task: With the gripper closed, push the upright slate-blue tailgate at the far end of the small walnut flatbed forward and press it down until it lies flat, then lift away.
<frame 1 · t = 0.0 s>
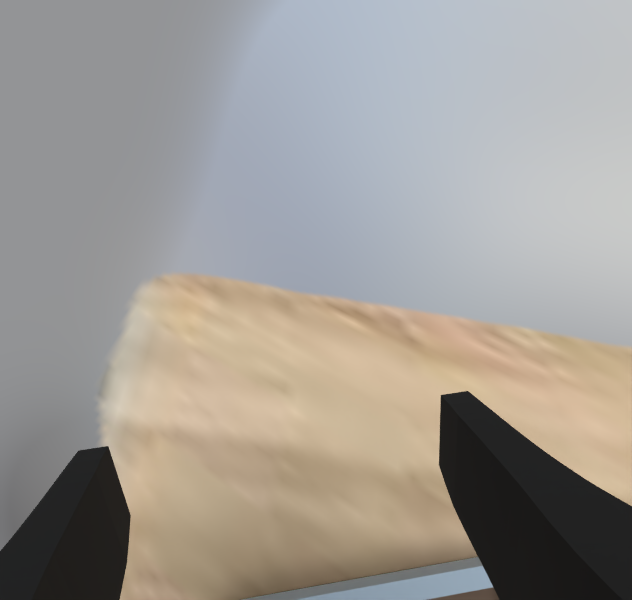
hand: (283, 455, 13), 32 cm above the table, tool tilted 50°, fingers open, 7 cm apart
tailgate: (369, 592, 36), point 5 cm above the table, hinge at 0.0°
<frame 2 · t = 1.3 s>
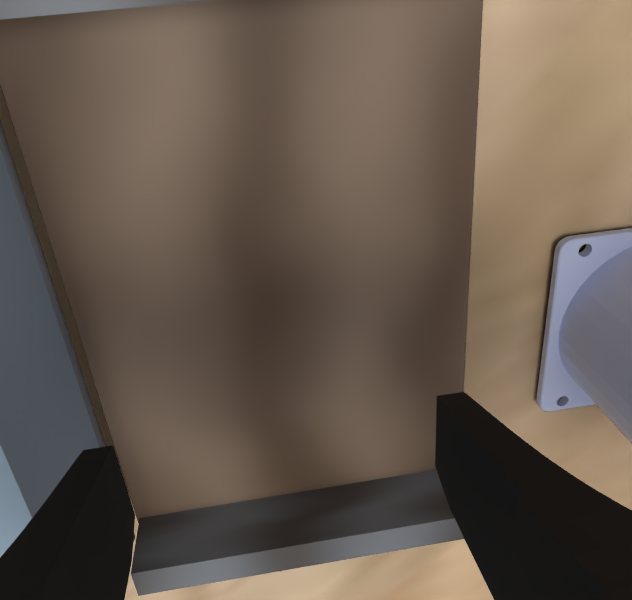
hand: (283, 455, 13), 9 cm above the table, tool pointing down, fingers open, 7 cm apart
tailgate: (20, 382, 16), point 5 cm above the table, hinge at 0.0°
flatbed: (273, 271, 21), on the table
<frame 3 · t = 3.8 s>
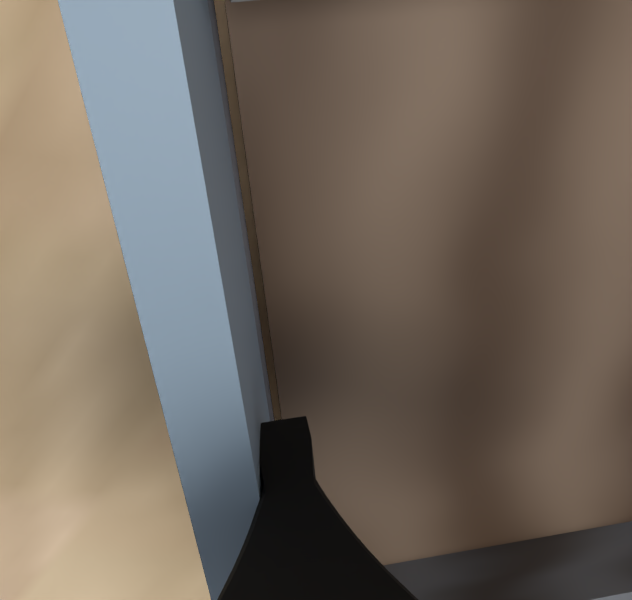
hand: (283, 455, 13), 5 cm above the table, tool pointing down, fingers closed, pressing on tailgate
tailgate: (241, 444, 13), point 5 cm above the table, hinge at 2.5°, touching gripper
flatbed: (478, 299, 18), on the table
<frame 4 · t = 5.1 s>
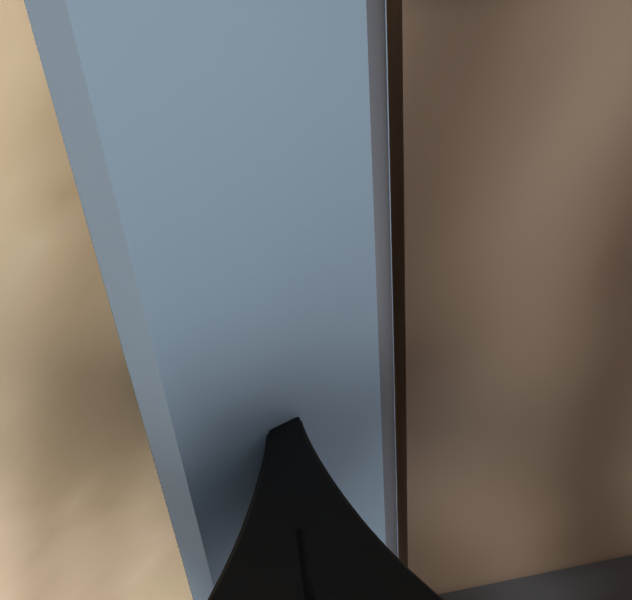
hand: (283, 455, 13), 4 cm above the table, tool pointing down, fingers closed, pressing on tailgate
tailgate: (294, 432, 13), point 3 cm above the table, hinge at 53.8°, touching gripper
flatbed: (601, 303, 17), on the table
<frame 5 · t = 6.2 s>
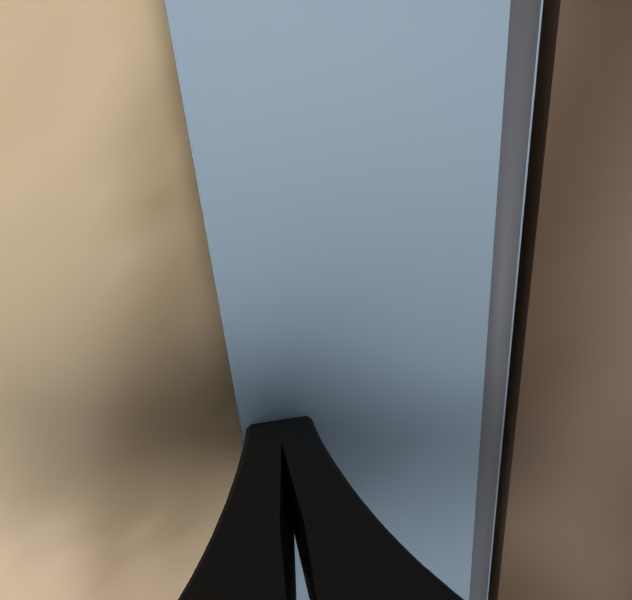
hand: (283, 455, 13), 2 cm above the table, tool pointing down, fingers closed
tailgate: (374, 414, 14), point 1 cm above the table, hinge at 89.4°
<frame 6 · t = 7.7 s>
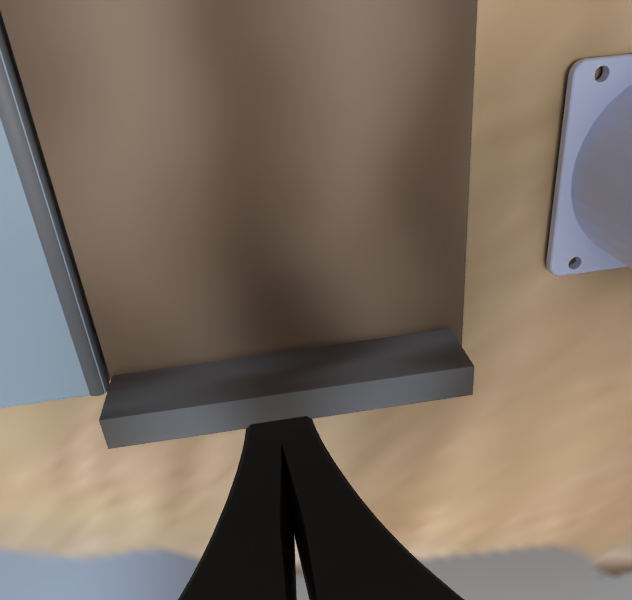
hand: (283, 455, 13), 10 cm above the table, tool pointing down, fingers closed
flatbed: (257, 90, 19), on the table
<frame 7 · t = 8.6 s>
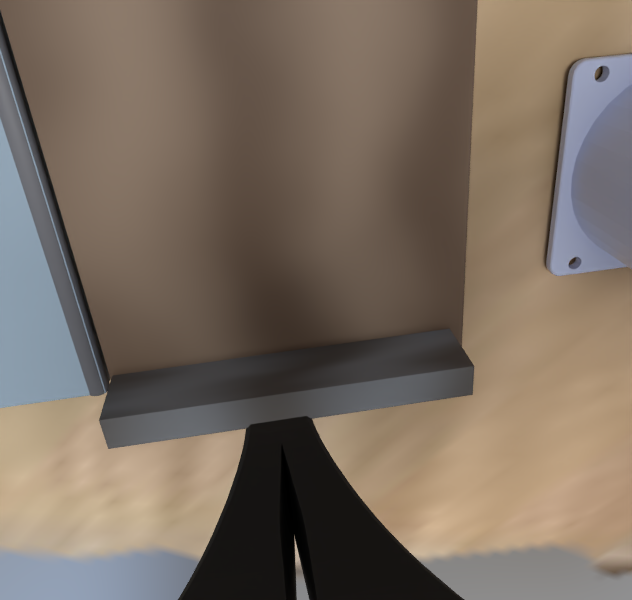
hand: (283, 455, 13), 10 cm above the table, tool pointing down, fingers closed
flatbed: (257, 90, 19), on the table
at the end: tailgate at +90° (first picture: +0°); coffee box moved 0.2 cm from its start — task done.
